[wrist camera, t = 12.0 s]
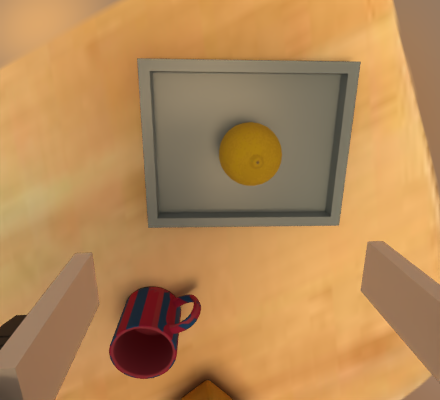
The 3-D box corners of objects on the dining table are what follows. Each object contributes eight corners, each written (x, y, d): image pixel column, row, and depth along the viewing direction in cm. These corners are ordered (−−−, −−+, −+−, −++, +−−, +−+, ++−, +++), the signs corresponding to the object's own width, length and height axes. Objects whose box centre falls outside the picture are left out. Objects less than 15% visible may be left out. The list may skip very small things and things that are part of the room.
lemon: (261, 179, 34) (279, 203, 26) (210, 166, 33) (213, 186, 25) (278, 127, 32) (302, 137, 25) (225, 112, 31) (233, 117, 24)
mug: (114, 300, 38) (96, 341, 32) (189, 266, 37) (187, 301, 31) (142, 340, 40) (130, 388, 34) (214, 309, 39) (217, 351, 33)
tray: (151, 219, 35) (148, 227, 33) (141, 60, 30) (137, 58, 28) (331, 217, 36) (338, 225, 34) (349, 64, 31) (360, 61, 29)
